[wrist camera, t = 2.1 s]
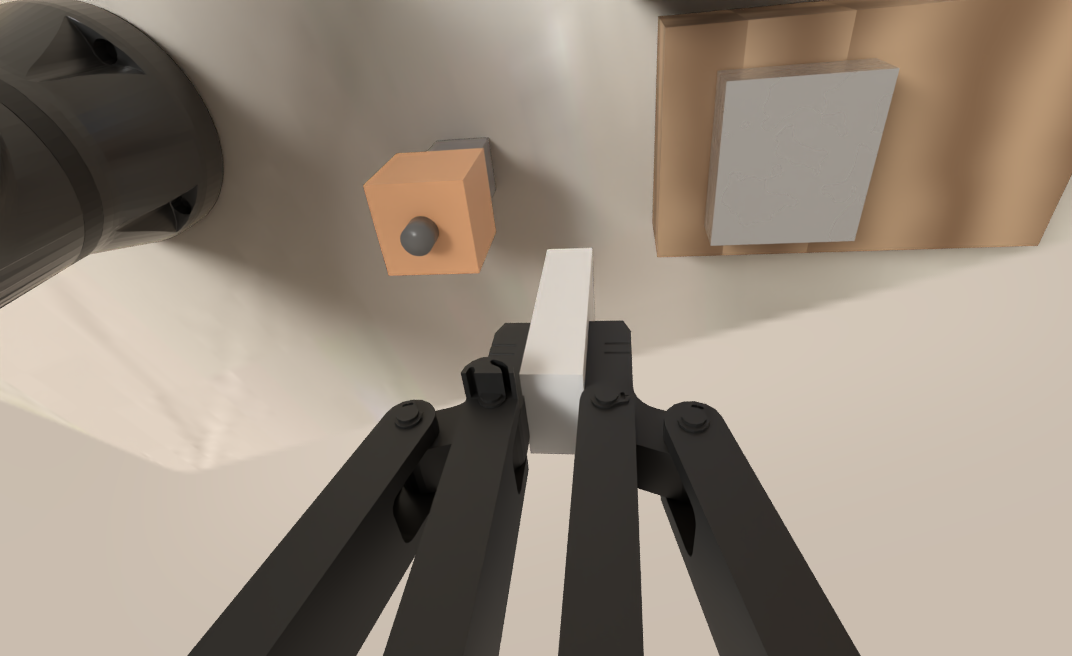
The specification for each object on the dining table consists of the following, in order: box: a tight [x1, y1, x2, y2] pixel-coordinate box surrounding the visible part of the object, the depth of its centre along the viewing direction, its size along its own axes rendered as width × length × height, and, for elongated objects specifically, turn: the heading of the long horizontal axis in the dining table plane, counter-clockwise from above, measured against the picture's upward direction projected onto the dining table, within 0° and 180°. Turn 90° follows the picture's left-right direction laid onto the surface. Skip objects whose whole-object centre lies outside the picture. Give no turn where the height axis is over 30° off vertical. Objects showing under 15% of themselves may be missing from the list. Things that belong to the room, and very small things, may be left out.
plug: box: [363, 137, 496, 276], centre depth 31 cm, size 5×5×11 cm
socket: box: [652, 0, 1072, 257], centre depth 29 cm, size 20×12×5 cm, turn 95°
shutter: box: [704, 58, 900, 246], centre depth 27 cm, size 7×8×2 cm
